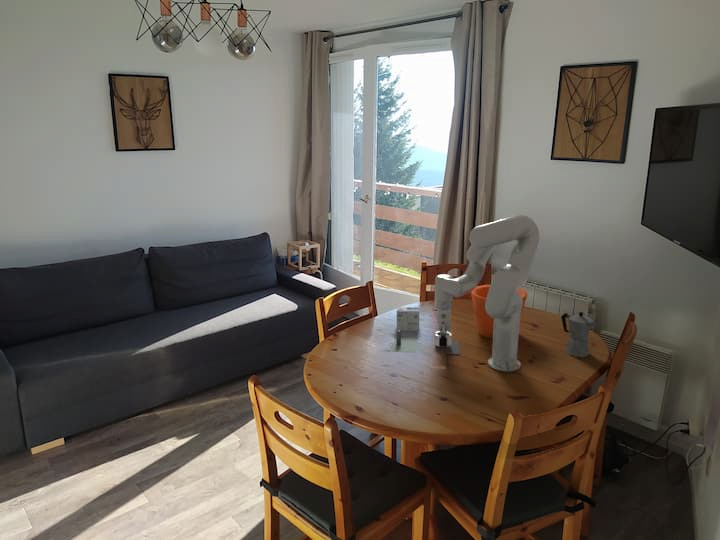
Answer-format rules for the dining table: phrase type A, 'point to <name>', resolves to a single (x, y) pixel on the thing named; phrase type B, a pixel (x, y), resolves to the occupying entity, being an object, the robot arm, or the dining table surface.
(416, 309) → the light bulb box
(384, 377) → the dining table surface
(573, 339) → the coffeepot
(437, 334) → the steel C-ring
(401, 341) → the peg stand
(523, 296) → the flowerpot
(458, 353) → the charcoal mat
